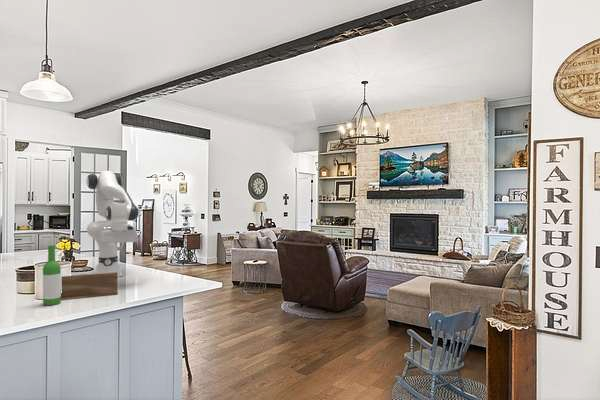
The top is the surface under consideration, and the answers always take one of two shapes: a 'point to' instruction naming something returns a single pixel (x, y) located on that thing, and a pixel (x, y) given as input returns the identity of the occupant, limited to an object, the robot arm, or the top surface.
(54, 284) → the wine bottle
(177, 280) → the top surface
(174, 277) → the top surface
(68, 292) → the brown block
